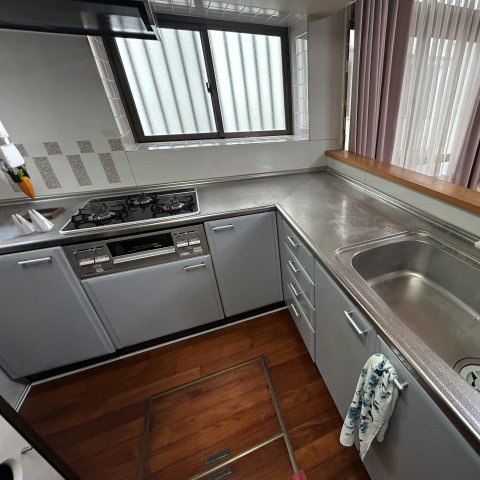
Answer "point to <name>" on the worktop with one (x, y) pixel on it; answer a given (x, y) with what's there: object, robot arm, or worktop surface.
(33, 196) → the carrot
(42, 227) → the shaker set
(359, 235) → the worktop surface
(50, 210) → the frame
